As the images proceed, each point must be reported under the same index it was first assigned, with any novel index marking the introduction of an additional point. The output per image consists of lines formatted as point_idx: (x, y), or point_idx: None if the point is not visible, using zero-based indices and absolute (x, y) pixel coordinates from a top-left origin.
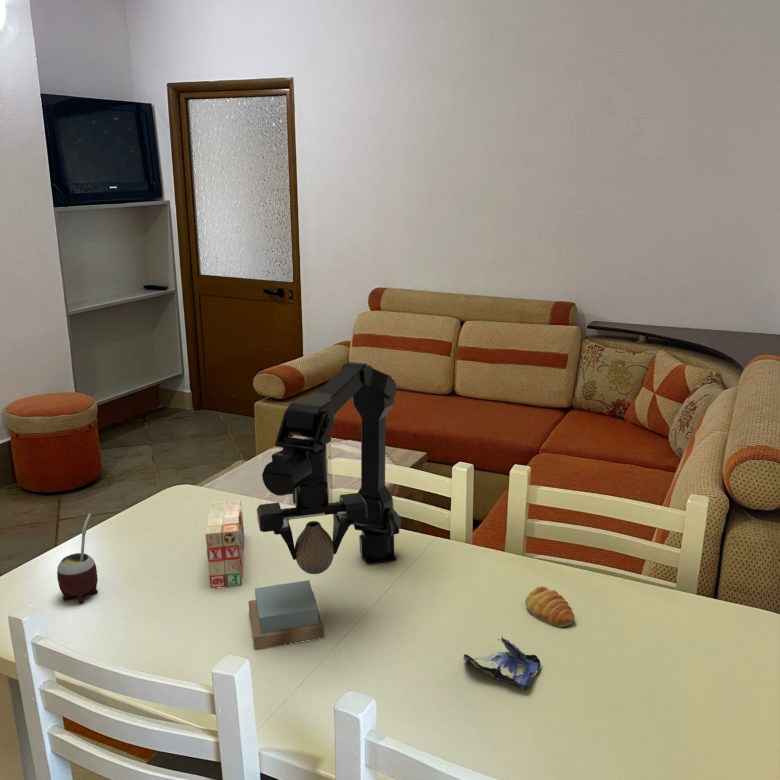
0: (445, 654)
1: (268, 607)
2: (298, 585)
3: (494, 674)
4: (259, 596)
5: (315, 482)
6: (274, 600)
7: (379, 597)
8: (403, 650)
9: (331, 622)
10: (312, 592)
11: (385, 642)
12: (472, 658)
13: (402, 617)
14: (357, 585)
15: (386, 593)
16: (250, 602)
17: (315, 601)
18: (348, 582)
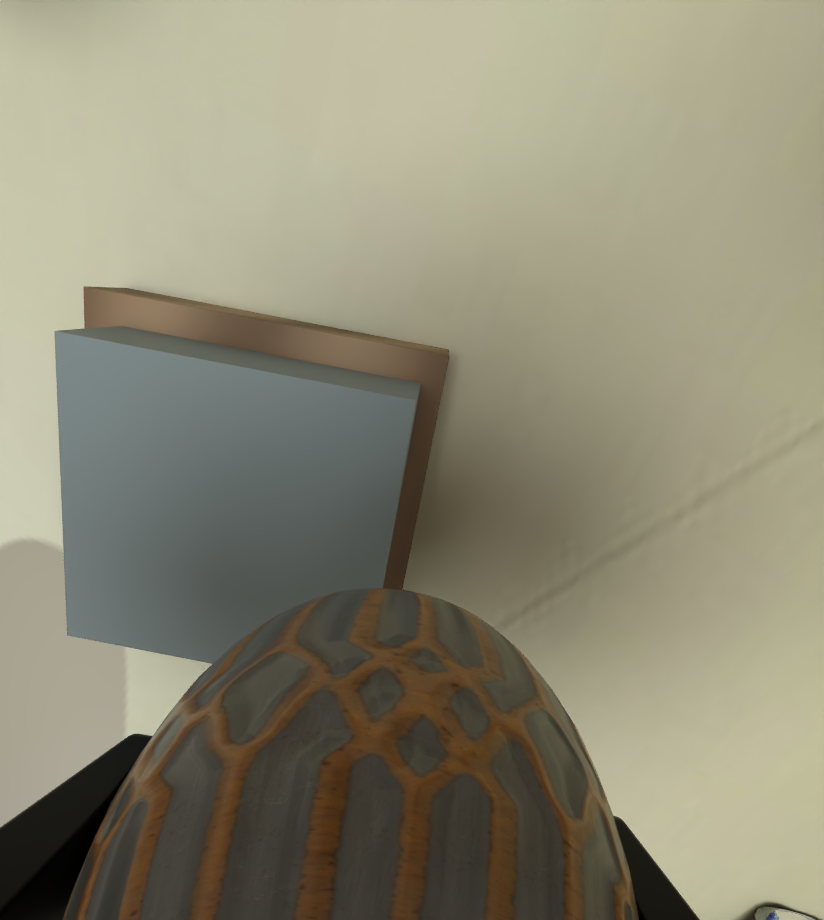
0: (728, 860)
1: (120, 570)
2: (331, 431)
3: None
4: (79, 442)
5: None
6: (160, 523)
7: (760, 459)
8: (620, 792)
9: (461, 541)
10: (387, 543)
11: (590, 735)
12: (787, 910)
13: (745, 639)
14: (733, 294)
15: (814, 442)
16: (94, 308)
17: (425, 460)
18: (707, 236)
